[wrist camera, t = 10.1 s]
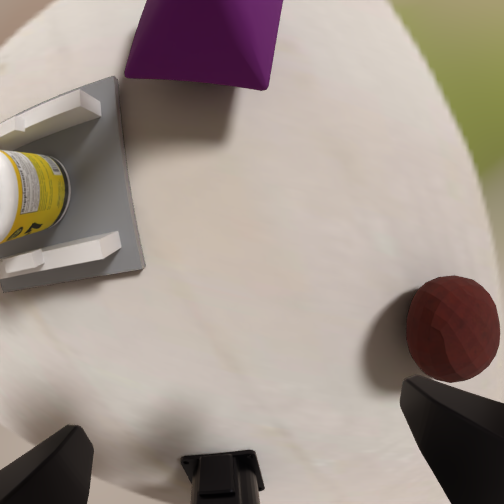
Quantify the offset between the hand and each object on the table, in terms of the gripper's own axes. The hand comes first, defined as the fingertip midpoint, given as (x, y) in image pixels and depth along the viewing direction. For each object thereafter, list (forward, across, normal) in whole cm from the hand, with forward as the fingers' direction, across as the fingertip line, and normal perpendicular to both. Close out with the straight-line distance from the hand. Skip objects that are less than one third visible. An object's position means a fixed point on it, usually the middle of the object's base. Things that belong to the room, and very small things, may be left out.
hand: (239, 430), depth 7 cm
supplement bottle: (+12, +11, -8) cm, 18 cm away
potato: (+13, -15, +6) cm, 21 cm away
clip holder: (+12, +11, -8) cm, 18 cm away
